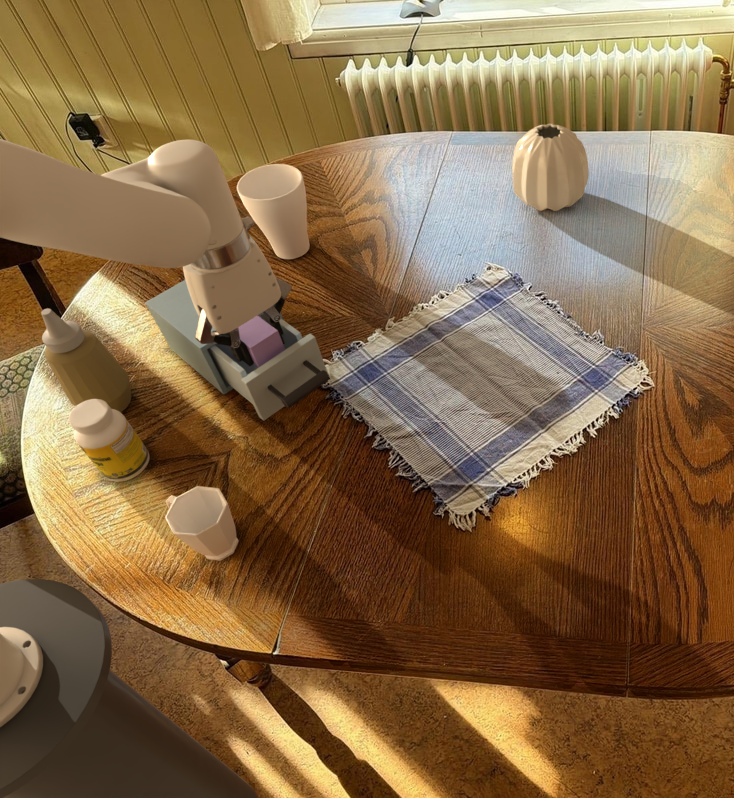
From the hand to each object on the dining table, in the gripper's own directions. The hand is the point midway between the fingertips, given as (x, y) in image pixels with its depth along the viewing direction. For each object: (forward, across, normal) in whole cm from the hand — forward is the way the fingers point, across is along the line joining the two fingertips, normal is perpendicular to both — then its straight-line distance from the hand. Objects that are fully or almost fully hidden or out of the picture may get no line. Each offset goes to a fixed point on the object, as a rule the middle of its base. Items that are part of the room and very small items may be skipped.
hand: (261, 349), depth 104 cm
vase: (+7, -61, 0) cm, 62 cm away
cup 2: (+7, -21, -25) cm, 33 cm away
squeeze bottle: (+8, +18, -16) cm, 25 cm away
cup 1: (+8, +21, +15) cm, 27 cm away
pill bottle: (+8, +22, -4) cm, 23 cm away
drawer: (+7, 0, +1) cm, 7 cm away
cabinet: (+7, 0, -12) cm, 14 cm away
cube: (0, 0, 0) cm, 0 cm away
